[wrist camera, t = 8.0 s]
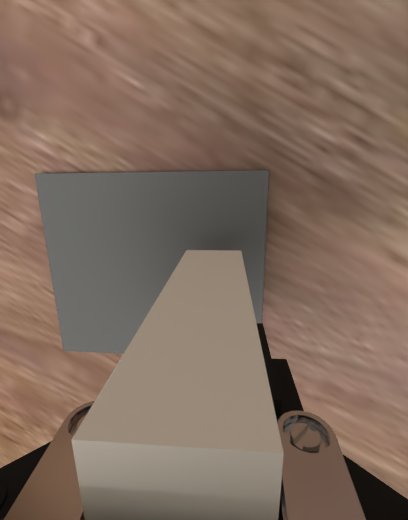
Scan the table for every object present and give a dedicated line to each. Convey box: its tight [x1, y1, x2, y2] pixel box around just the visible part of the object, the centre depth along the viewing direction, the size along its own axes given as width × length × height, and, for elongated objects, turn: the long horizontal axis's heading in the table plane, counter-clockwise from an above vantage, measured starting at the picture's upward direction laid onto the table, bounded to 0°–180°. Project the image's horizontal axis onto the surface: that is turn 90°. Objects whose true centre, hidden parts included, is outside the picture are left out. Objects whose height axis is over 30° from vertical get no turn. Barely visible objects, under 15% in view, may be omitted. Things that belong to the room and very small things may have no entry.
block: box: [71, 250, 284, 520], centre depth 9 cm, size 3×7×10 cm, turn 1°
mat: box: [35, 170, 269, 353], centre depth 21 cm, size 16×14×1 cm
